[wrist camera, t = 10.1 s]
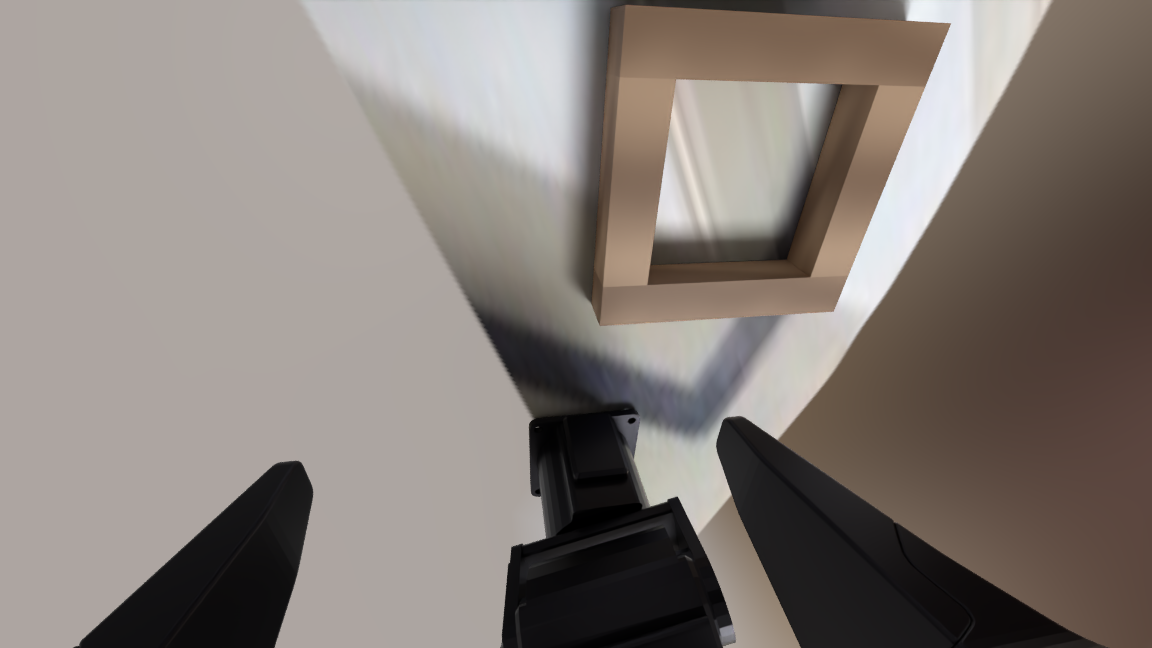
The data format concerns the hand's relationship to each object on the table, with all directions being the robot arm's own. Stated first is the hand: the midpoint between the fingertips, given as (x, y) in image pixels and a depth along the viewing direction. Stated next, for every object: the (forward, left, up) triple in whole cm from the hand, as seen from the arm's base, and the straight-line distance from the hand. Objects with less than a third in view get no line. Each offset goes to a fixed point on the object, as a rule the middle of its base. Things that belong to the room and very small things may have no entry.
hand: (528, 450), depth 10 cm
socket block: (+2, -10, -12) cm, 16 cm away
